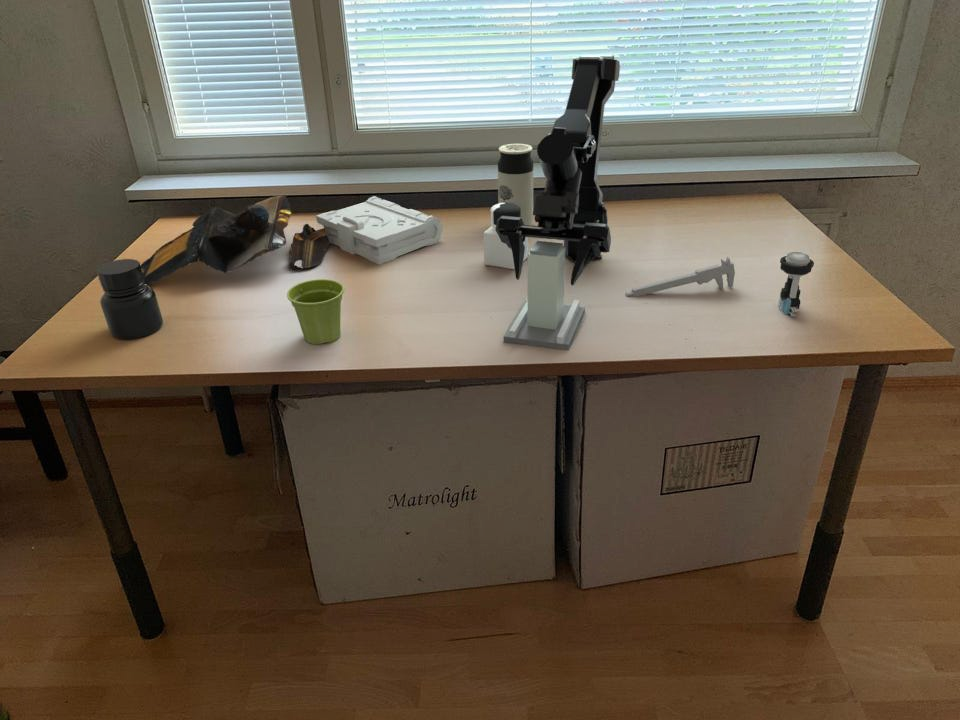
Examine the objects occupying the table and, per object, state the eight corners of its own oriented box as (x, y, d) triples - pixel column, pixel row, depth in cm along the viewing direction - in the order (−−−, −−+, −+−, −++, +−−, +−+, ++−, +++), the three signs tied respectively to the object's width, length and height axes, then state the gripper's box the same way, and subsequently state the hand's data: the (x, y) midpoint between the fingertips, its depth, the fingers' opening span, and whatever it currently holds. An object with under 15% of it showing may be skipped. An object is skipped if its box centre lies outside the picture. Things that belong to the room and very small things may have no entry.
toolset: (128, 302, 134) (100, 189, 143) (164, 343, 153) (138, 241, 162) (333, 241, 142) (295, 138, 151) (344, 287, 161) (309, 193, 169)
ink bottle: (160, 312, 133) (143, 252, 126) (171, 330, 126) (153, 268, 120) (104, 326, 128) (83, 265, 122) (112, 346, 122) (90, 282, 116)
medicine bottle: (528, 257, 150) (528, 201, 144) (515, 270, 144) (515, 213, 138) (497, 252, 153) (496, 198, 146) (483, 265, 147) (482, 209, 141)
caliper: (729, 286, 135) (734, 256, 132) (732, 289, 134) (737, 258, 131) (625, 295, 133) (627, 264, 130) (626, 298, 132) (629, 266, 129)
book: (371, 215, 177) (367, 185, 173) (446, 242, 160) (443, 209, 156) (304, 237, 166) (299, 205, 162) (376, 269, 149) (372, 235, 145)
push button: (809, 319, 122) (821, 265, 117) (776, 318, 123) (787, 264, 118) (798, 302, 128) (810, 250, 123) (768, 301, 128) (778, 249, 123)
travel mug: (520, 217, 171) (520, 141, 162) (539, 226, 166) (540, 148, 156) (492, 224, 168) (490, 146, 159) (511, 233, 162) (510, 154, 153)
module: (535, 313, 125) (536, 239, 118) (563, 316, 124) (565, 242, 117) (527, 325, 121) (527, 250, 114) (556, 329, 120) (558, 254, 113)
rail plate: (525, 305, 130) (525, 294, 129) (584, 312, 127) (585, 301, 126) (503, 341, 119) (503, 330, 118) (568, 350, 116) (568, 338, 115)
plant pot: (361, 328, 124) (354, 283, 120) (330, 354, 117) (322, 306, 113) (316, 320, 128) (309, 275, 123) (283, 344, 120) (274, 297, 116)
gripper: (497, 168, 116) (478, 257, 112) (612, 175, 110) (596, 268, 107) (511, 200, 126) (494, 282, 123) (617, 208, 121) (602, 294, 117)
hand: (544, 281), depth 117 cm, fingers open, 9 cm apart
